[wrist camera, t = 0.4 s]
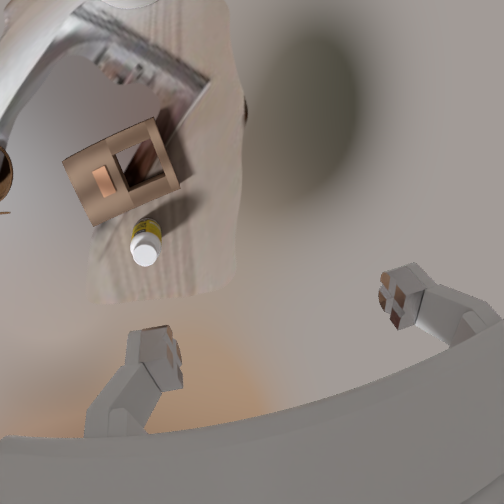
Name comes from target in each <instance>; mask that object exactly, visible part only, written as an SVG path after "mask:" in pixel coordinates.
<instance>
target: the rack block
mask: <svg viewBox="0 0 504 504" xmlns="http://www.w3.org/2000/svg"><path fill="white" fill-rule="evenodd" d="M150 138H151V140H152V142H153V145H154V148H155V150H156V153H157V155H158V158H159V160H160V163H161V165H162V168H163V170H164V173H162V174H160V175H157V176H155V177H153V178H150V179H148V180H146V181H143V182H141V183H139V184H136V185H134V186H132V187H129V185H128V183H127V180H126V178H125V176H124V173H123V171H122V169H121V166H120V164H119V162H118V159H117V157H116V155H115V154H116V153H118V152H121V151H123V150H124V149H127V148H129V147H131V146H134V145H136V144H138V143H141V142H143V141H145V140H148V139H150ZM62 163H63V166H64V168H65V170H66V172H67V174H68V177H69V179H70V181H71V183H72V185H73V187H74V189H75V192H76V194H77V195H78V198H79V200H80V202H81V204H82V206H83V208H84V210H85V212H86V213H87V216H88V217H89V220H90V221H91V223H92V225H93V227H94V226H96V225H98V224H101V223H103V222H105V221H107V220H109V219H111V218H113V217H116V216H118V215H120V214H122V213H124V212H127V211H129V210H131V209H133V208H136V207H138V206H140V205H143V204H145V203H147V202H149V201H152V200H154V199H157V198H159V197H161V196H164V195H166V194H168V193H171V192H173V191H176V190H178V189H181V188H180V184H179V181H178V179H177V176H176V173H175V171H174V168H173V166H172V163H171V161H170V158H169V156H168V153H167V150H166V148H165V145H164V143H163V140H162V137H161V135H160V132H159V129H158V127H157V124H156V122H155V119H154V117H152V118H150V119H147V120H145V121H142V122H140V123H138V124H135V125H133V126H131V127H129V128H126V129H124V130H122V131H120V132H118V133H115V134H113V135H111V136H109V137H107V138H105V139H103V140H101V141H99V142H97V143H95V144H93V145H91V146H89V147H87V148H85V149H83V150H81V151H79V152H77V153H75V154H74V155H71V156H70V157H68V158H66V159H65V160H64V161H62Z"/></svg>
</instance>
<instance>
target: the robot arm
mask: <svg viewBox="0 0 504 504" xmlns="http://www.w3.org/2000/svg"><path fill="white" fill-rule="evenodd" d="M101 1H103V2H105V3H107V4H109V5H111V6H113V7H117V8H122V9H133V8H140V7H144V6H147V5H150V4H152V3H154V2H156V1H158V0H101ZM380 281H381V282H382V283H383V285H382V286H381V288H380V289H379V294H378V297H379V303H380V305H381V307H382V309H383V310H384V312H386V313H389V314H390V320H391V322H392V323H393V324H394V326H395V327H396V329H397V330H401V329H403V328H406V327H409V326H412V325H416V326H417V327H419V328H421V329H423V330H424V331H426V332H428V333H429V334H431V335H433V336H434V337H436V338H438V339H440V340H441V341H443V342H445V343H446V344H448V345H450V347H449V349H447V350H445V351H443V352H441V353H439V354H437V355H435V356H433V357H430V358H428V359H426V360H424V361H422V362H419V363H417V364H415V365H413V366H410V367H408V368H406V369H403V370H401V371H399V372H396V373H394V374H391V375H389V376H386V377H384V378H381V379H379V380H377V381H374V382H371V383H368V384H365V385H363V386H360V387H357V388H354V389H351V390H349V391H345V392H343V393H340V394H336V395H334V396H331V397H327V398H324V399H321V400H318V401H314V402H311V403H307V404H304V405H300V406H297V407H293V408H289V409H286V410H282V411H278V412H274V413H270V414H266V415H261V416H257V417H253V418H248V419H244V420H239V421H234V422H229V423H224V424H218V425H213V426H207V427H201V428H195V429H188V430H181V431H173V432H166V433H157V434H148V433H147V432H146V431H145V430H144V429H143V428H144V426H145V425H146V423H147V421H148V419H149V417H150V415H151V413H152V411H153V409H154V408H155V406H156V404H157V402H158V400H159V398H160V396H161V394H162V393H161V392H165V391H171V390H176V389H182V388H183V374H182V372H181V370H180V366H181V365H182V359H181V354H180V349H179V346H178V343H177V341H176V340H175V339H173V337H172V336H173V335H172V330H171V328H170V326H169V325H164V326H158V327H152V328H146V329H142V330H136V331H130V332H129V334H128V339H127V349H126V357H125V366H121V367H120V368H119V369H118V371H117V372H116V373H115V374H114V376H113V377H112V378H111V380H110V381H109V382H108V383H107V385H106V386H105V387H104V389H103V390H102V391H101V392H100V394H99V395H98V396H97V398H96V399H95V400H94V401H93V403H92V404H91V405H90V407H89V408H88V409H87V414H86V421H85V430H84V438H42V437H26V436H15V435H8V436H5V437H3V438H2V439H1V440H0V504H504V319H501V317H500V316H499V315H498V314H497V313H496V312H495V311H494V309H492V307H491V306H490V305H489V304H488V303H487V302H485V301H483V300H480V299H478V298H475V297H473V296H470V295H467V294H465V293H462V292H460V291H457V290H454V289H452V288H449V287H446V286H444V285H441V284H440V285H437V284H436V283H435V282H434V281H433V280H432V279H431V278H430V277H429V276H428V275H427V273H426V272H425V271H424V270H423V269H422V268H421V267H420V266H419V265H418V264H417V263H410V264H407V265H404V266H401V267H398V268H395V269H392V270H388V271H385V272H383V273H382V274H381V278H380Z"/></svg>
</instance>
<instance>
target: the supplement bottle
mask: <svg viewBox="0 0 504 504" xmlns="http://www.w3.org/2000/svg"><path fill="white" fill-rule="evenodd" d="M161 246H162V245H161V227H160V225H159V224H158V223H157V222H156V221H155V220H153V219H149V218H145V219H141V220H140V221H138V222H137V223H136V224H135V226H134V229H133V234H132V239H131V244H130V249H131V253H132V255H133V258H134V260H135V262H136V263H137V264H139V265H141V266H150V265H152V264H153V263H154V262H155V261H156V259H157V257H158V256H159V254H160V252H161Z"/></svg>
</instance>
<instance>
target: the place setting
mask: <svg viewBox="0 0 504 504" xmlns="http://www.w3.org/2000/svg"><path fill="white" fill-rule="evenodd" d="M0 150H1V151H2V152H3V153H4V158H3V161H2V165H1V169H0V201H1V200H3V199H4V198H5V196H6V195H7V194H8V192H9V190H10V188H11V185H12V180H13V167H12V162H11V160H10V157H9V155H8V154H7V152H6V151H5V150H4V149H3V148H2V147H1V146H0ZM10 213H11V212H0V215H2V214H10Z"/></svg>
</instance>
